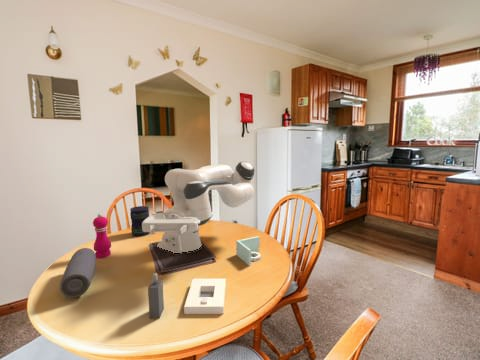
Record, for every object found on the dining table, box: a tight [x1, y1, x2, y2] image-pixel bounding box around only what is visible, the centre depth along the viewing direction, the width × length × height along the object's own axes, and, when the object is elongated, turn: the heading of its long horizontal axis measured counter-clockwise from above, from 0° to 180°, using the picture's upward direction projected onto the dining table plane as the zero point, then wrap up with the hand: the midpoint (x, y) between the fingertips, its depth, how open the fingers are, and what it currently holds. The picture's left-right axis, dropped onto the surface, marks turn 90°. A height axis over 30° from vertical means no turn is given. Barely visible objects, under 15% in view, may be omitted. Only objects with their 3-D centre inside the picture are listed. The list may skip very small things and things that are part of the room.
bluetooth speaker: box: [59, 247, 97, 298], centre depth 94 cm, size 23×9×10 cm, turn 24°
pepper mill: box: [92, 213, 112, 259], centre depth 117 cm, size 7×7×20 cm
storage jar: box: [129, 205, 151, 238], centre depth 144 cm, size 10×10×15 cm
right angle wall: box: [235, 235, 262, 267], centre depth 116 cm, size 12×12×8 cm
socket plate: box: [183, 278, 227, 315], centre depth 86 cm, size 16×12×3 cm
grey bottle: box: [147, 272, 165, 320], centre depth 78 cm, size 4×3×13 cm, turn 1°
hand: (165, 232), depth 87 cm, fingers open, 8 cm apart
